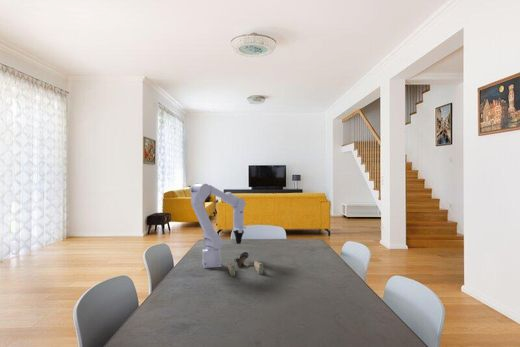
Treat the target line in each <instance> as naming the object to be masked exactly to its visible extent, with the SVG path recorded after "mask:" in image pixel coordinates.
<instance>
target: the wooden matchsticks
mask: <svg viewBox="0 0 520 347" xmlns="http://www.w3.org/2000/svg"><path fill="white" fill-rule="evenodd" d="M253 266H254V268H255V271H256V272H257V273H258V275H260V276H261V275H264V263H263V262H259V261H258V260H254V264H253ZM227 269H228V272H229V277H232V278H234V277H236V265H235V264H232V262H227Z"/></svg>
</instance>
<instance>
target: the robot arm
mask: <svg viewBox="0 0 520 347" xmlns="http://www.w3.org/2000/svg"><path fill="white" fill-rule="evenodd" d="M189 192H190V194H191V195H190V197H191V198H190V205H191V208H192V210H193V211H194V214H195V215H196V218H197V220H198V223H199V225H200V227H201V229H202V232H203V235H202V237H203V244H204V245H205V248H202V260H201V264H202V268H203V269H208V268H209V269H210V268H222V267H223V266H222V263H221V250H222V247H223V246H224V241H223V238H222V237H221V236H220V235H219V233H218V232H217V231H216V230H215V229H214V227H213V224H212V222H211V220H210V216H209V214H208V212H207V211H206V208H205V205H204V202H205V200H206V199H207V198H208V197H209V195H213V196H214V197H217V198H219V199H221V200H222V202H223V203H225V204H227V205H230V206H231V207H232V208H233V209H232V211H233V212H232V213H233V216H232V218H233V227H232V229H233V231H232V232H233V235H234V237H235V243H236V244H237V245H240V244H242V240H243V239H242V238H243V235H244V233H245V232H244V229H246V228H247V227H246V226H244V225H245V224H244V222H245V221H244V217H245V215H244V211H245V207H246V205H247V204H246V201H245V199H244V198H242V197H239V196H238V195H235V194H233V193H232V192H231V191H227V192H224V191H222V190H220V189H219V188H217V187H215V186H213V185H211V184H207V183H194V184H193V185H192V186H191V187H190V191H189Z"/></svg>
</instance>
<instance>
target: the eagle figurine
mask: <svg viewBox="0 0 520 347" xmlns="http://www.w3.org/2000/svg"><path fill="white" fill-rule="evenodd" d="M248 258H249V253H248V252H247V251H244V252H242V253H241V254H239V257H238V256H237V257H235V258H233V262H234V263H236V264H237V265H238V267H239V268H241V267H242V265H244V266H246V262H245V261H246V259H248Z"/></svg>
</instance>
